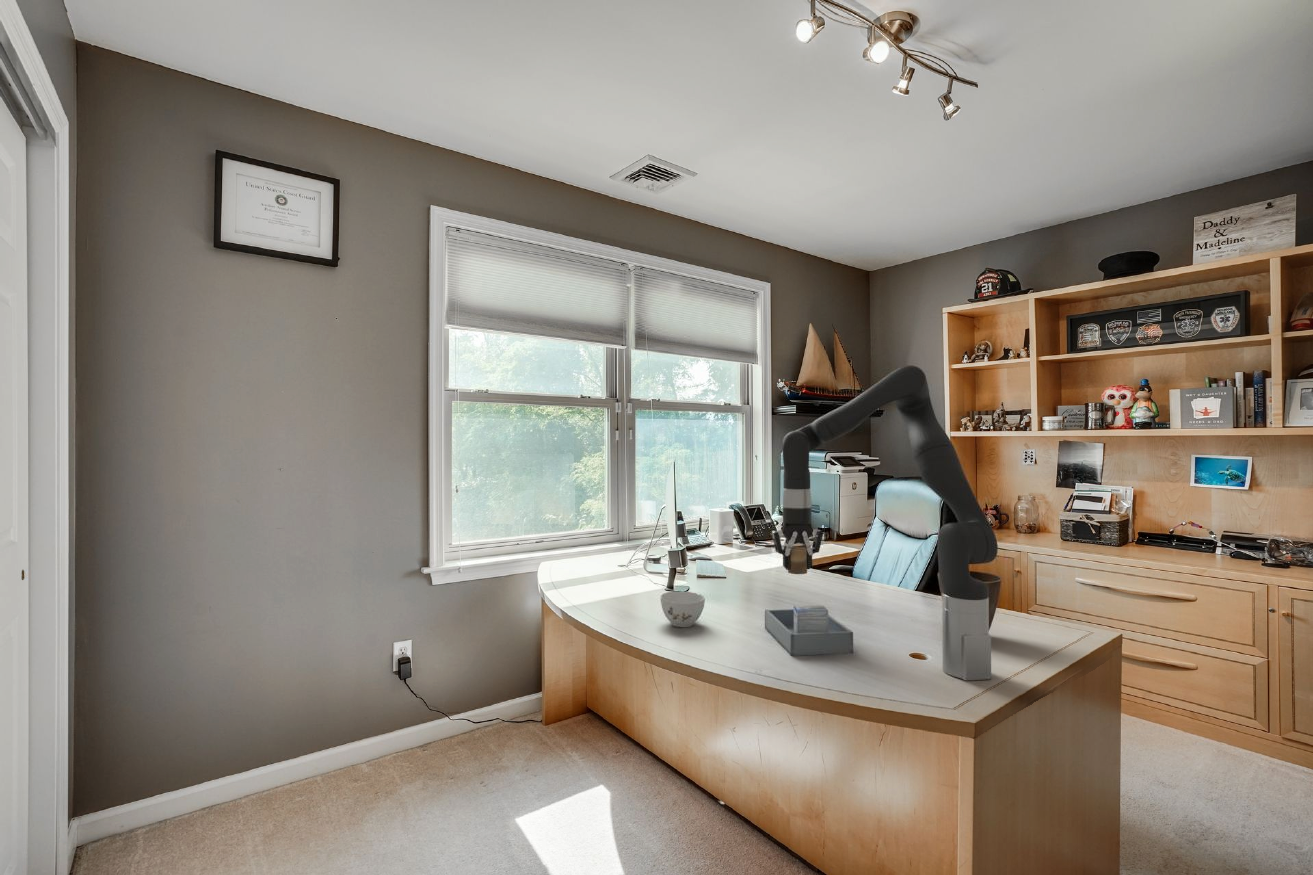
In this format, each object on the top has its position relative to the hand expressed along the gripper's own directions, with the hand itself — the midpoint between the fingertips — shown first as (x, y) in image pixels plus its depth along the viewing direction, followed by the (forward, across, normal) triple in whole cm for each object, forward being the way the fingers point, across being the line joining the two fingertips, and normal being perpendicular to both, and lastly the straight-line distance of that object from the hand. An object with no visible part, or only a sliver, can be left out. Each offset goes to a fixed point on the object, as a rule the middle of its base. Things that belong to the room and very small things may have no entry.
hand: (797, 568), depth 166 cm
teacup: (+17, +29, -13) cm, 36 cm away
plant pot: (+17, -43, +9) cm, 47 cm away
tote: (+17, 0, +6) cm, 18 cm away
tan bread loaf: (+1, 0, 0) cm, 1 cm away
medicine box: (+17, 0, +9) cm, 19 cm away
